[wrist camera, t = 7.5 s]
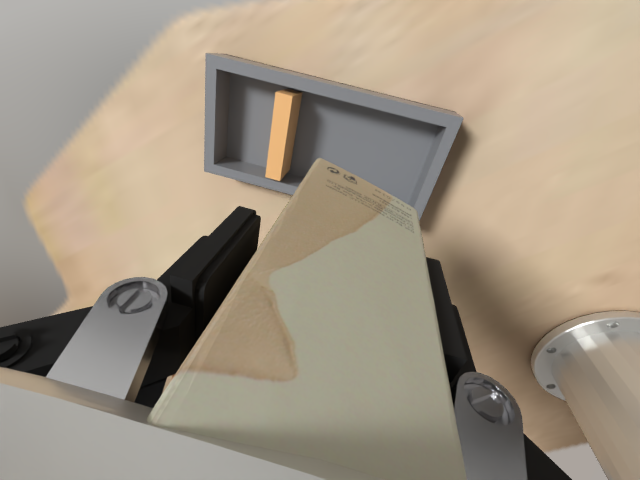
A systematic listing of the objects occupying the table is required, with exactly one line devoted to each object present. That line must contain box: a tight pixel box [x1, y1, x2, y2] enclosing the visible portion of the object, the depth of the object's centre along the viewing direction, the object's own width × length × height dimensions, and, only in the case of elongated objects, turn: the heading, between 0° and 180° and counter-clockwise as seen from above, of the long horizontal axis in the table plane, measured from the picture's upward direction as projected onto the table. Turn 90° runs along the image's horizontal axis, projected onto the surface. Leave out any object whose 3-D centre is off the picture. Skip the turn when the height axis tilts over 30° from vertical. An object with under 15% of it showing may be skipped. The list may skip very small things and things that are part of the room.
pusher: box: [265, 89, 302, 181], centre depth 24 cm, size 1×6×3 cm, turn 168°
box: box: [147, 158, 467, 480], centre depth 8 cm, size 5×4×11 cm
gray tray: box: [204, 53, 463, 221], centre depth 24 cm, size 18×9×3 cm, turn 78°
